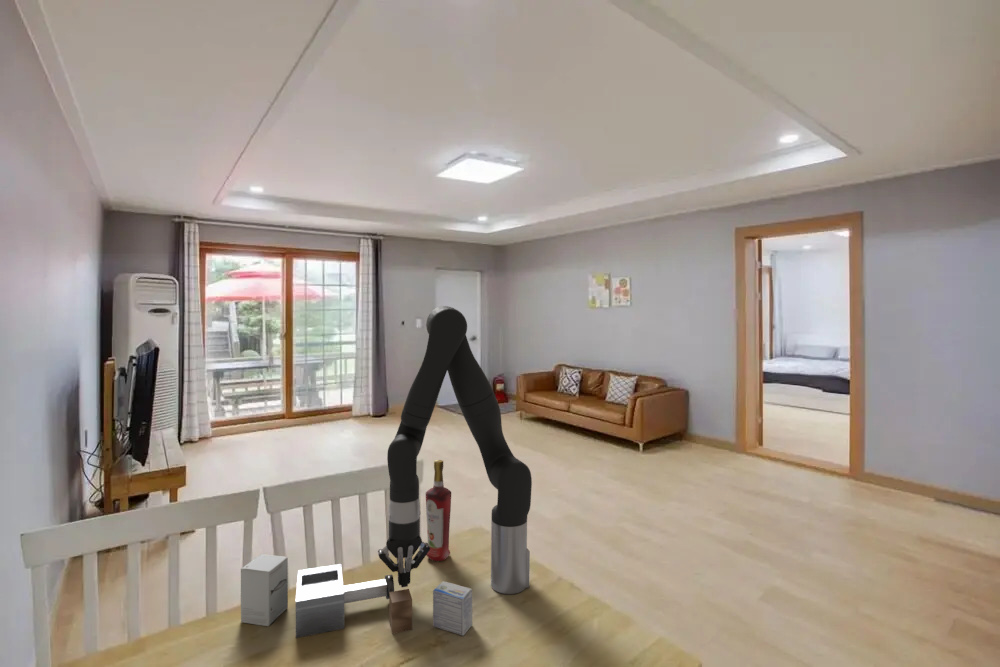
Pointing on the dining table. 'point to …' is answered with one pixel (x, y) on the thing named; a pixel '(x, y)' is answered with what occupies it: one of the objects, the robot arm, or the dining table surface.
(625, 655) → the dining table surface
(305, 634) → the grey hollow block
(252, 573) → the supplement box
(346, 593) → the shaft
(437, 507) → the liquor
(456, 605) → the medicine box
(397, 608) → the block
